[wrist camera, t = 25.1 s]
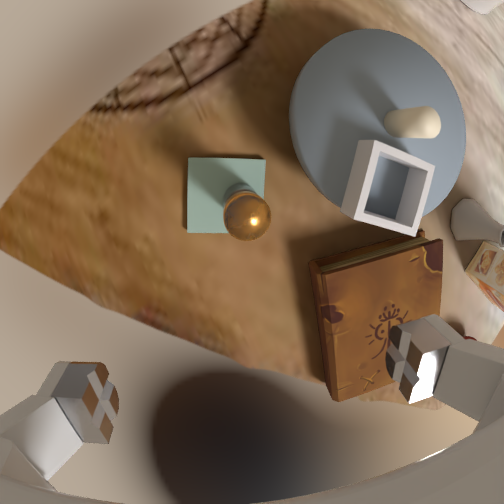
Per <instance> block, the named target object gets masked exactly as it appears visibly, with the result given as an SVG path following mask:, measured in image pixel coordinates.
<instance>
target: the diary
mask: <svg viewBox="0 0 504 504" xmlns="http://www.w3.org/2000/svg"><path fill="white" fill-rule="evenodd" d="M309 268H310V274H311V281H312V287H313V293H314V300H315V306H316V313H317V320H318V327H319V334H320V341H321V349H322V356H323V364H324V372H325V381H326V386H327V389H328V391H329V393H330V395H331V398H332V400H335V401H337V402H341V401H344V400H347V399H350V398H353V397H356V396H358V395H361V394H364V393H367V392H370V391H372V390H375V389H378V388H380V387H383V386H385V385H388V384H390V383H393V382H395V381H394V380H392V378H391V377H390V375H389V374H388V371H387V369H386V362H385V357H386V350H387V349H388V348H389V346H390V345H391V344H392V342H391V341H390V339H389V332H390V329H391V327H392V326H394V325H398V324H402V323H406V322H410V321H413V320H417V319H420V318H422V317H425V316H429V315H432V314H435V315H438V316H439V314H440V303H441V289H442V268H443V240H441V239H435V240H432V241H429V240H428V239H426V238H425V231H423V230H422V231H419V232H417V233H416V236H415V237H414V236H411V235H405V236H401V237H398V238H394V239H390V240H387V241H383V242H380V243H376V244H372V245H369V246H365V247H361V248H358V249H354V250H350V251H347V252H343V253H339V254H335V255H332V256H328V257H324V258H320V259H317V260H313V261H310V262H309Z"/></svg>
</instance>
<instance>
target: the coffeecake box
mask: <svg viewBox="0 0 504 504" xmlns="http://www.w3.org/2000/svg"><path fill="white" fill-rule="evenodd" d="M465 272H466V274H467V275H468V276H469V277H470V278H471V279H472V280H473V282H474V283H475V284H476V285H477V286H478V287H479V289H480V290H481V291H482V292H483V293H484V294H485V296H486V297H487V298H488V299H489V300H490V301H491V303H492V304H494V305H495V306H497V307H498V308H499V309H501V310H502V311H504V251H503V250H501V249H499V248H497V247H495V246H493V245H491V244H489V243H487V242H485V241H483V243H482V244H481V246H480V248H479V250H478V251H477V253H476V254H475V256H474V257H473V259H472V260H471V262H470V263H469V265H468V267H467V268H466V270H465Z"/></svg>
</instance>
